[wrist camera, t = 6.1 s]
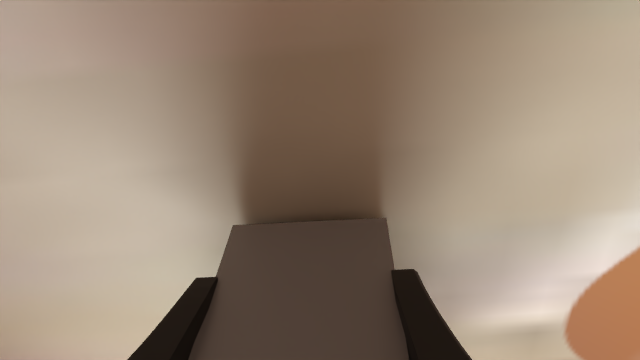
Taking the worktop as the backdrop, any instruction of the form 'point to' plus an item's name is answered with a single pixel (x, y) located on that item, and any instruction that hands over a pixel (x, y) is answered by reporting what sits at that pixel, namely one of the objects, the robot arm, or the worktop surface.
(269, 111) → the worktop surface
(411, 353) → the robot arm
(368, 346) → the domino
